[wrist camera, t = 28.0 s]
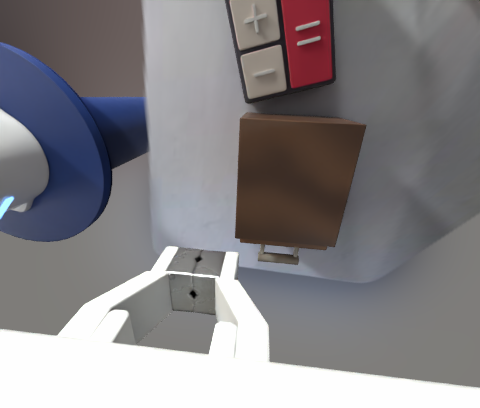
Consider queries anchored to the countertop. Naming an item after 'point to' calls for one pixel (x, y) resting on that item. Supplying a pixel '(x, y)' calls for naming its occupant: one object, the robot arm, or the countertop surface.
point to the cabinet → (294, 176)
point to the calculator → (282, 45)
